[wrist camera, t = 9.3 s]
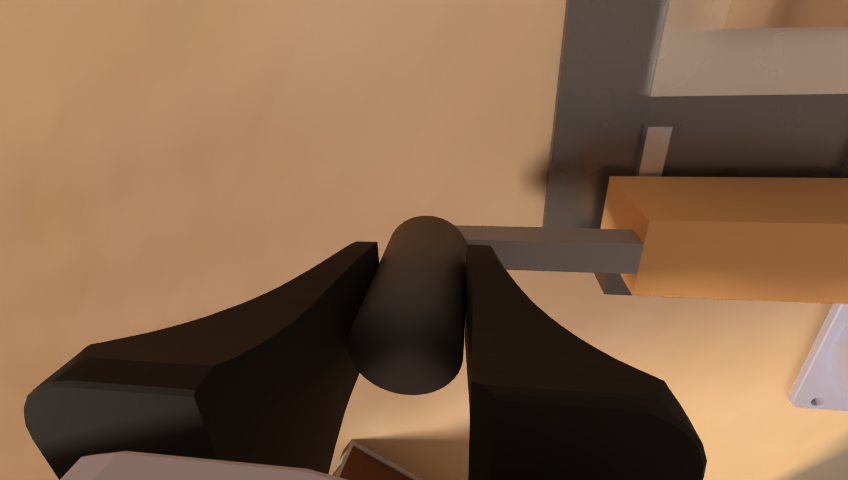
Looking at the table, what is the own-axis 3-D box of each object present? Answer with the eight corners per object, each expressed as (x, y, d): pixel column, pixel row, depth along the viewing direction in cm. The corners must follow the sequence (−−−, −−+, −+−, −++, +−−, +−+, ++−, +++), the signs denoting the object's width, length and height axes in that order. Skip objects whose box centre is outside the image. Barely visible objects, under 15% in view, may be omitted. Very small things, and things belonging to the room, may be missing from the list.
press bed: (1317, -477, 8) (1664, -689, 6) (898, 274, 16) (972, 316, 14) (606, -373, 10) (646, -503, 8) (538, 262, 18) (547, 298, 16)
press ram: (921, 178, 14) (1450, 352, 6) (887, 244, 15) (1302, 460, 7) (406, 174, 16) (341, 300, 8) (409, 232, 17) (353, 390, 10)
